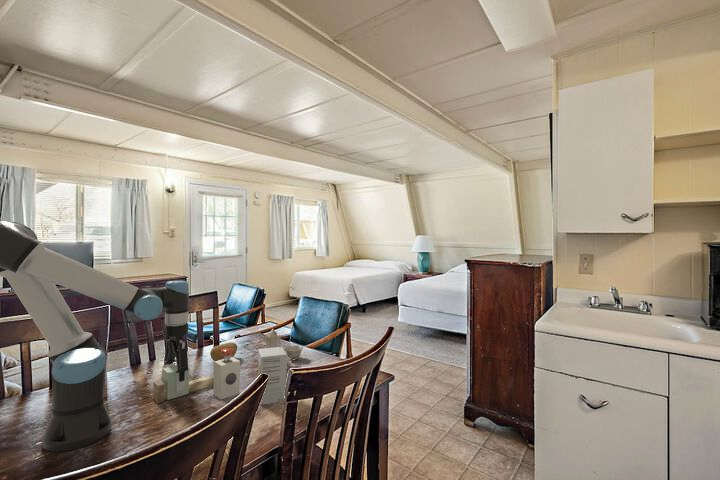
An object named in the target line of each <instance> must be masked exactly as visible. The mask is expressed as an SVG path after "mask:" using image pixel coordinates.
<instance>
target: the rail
mask: <svg viewBox="0 0 720 480" xmlns="http://www.w3.org/2000/svg"><path fill="white" fill-rule="evenodd" d="M152 383H153V385H152V399H153V401H155V403H156V404H160V403H163V402H165V401H166V400H167V390H166V389H165V388H164V383H162V380H161V379H158V380H154V381H153V382H152ZM212 386H214V373H213V374H210V375H207V376H202V377H200V378H199V377H198V378H196V379H193V380H189V393H193V392H195V391H199V390H202V389H205V388H209V387H212Z"/></svg>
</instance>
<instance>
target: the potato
mask: <svg viewBox="0 0 720 480" xmlns="http://www.w3.org/2000/svg"><path fill="white" fill-rule="evenodd" d="M225 348H233V349H234V353H233V354H231V357H233V358H234V357H235V355H236V354H237V351H238V345H237V343H236V342H232V341H230V342H229V341H228V342H225V343H222V344H219V345H217V346H214V347H212V348H211V349H210V353H209V354H210V358H211V359H212V361H213V362H214V361H218V360H222V359H224V355H222V354H221V350H222V349H225Z"/></svg>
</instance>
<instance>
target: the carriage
mask: <svg viewBox="0 0 720 480" xmlns="http://www.w3.org/2000/svg"><path fill="white" fill-rule="evenodd" d="M176 371H178V370H177V364H175V365H174V366H170V367H167V366H166V367H162V371H161V374H162V375H161V378H162V379H161V382H162V383H164V388H165V389H166V390H167V399H166V400H167V401H169V400H172V399H177V398H179V397H182V396H185V395H188V394H189V393H190V392H189V381H190V367H189V366H188V371H185V389H182V390H179V391H176Z"/></svg>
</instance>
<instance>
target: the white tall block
mask: <svg viewBox="0 0 720 480" xmlns="http://www.w3.org/2000/svg"><path fill="white" fill-rule="evenodd" d="M213 374H214V385H213V395H214V396H215V397H216V398H218V399H219V400H223V399H227V398H230V397H233V396H236V395H238V394H240V390H241V389H240V386H241V384H240V383H241V379H240V378H241V360H239V359H238V358H235V357H234V356H233V357H231V362H229V363H224V359H222V360H218V361H214V360H213Z"/></svg>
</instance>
